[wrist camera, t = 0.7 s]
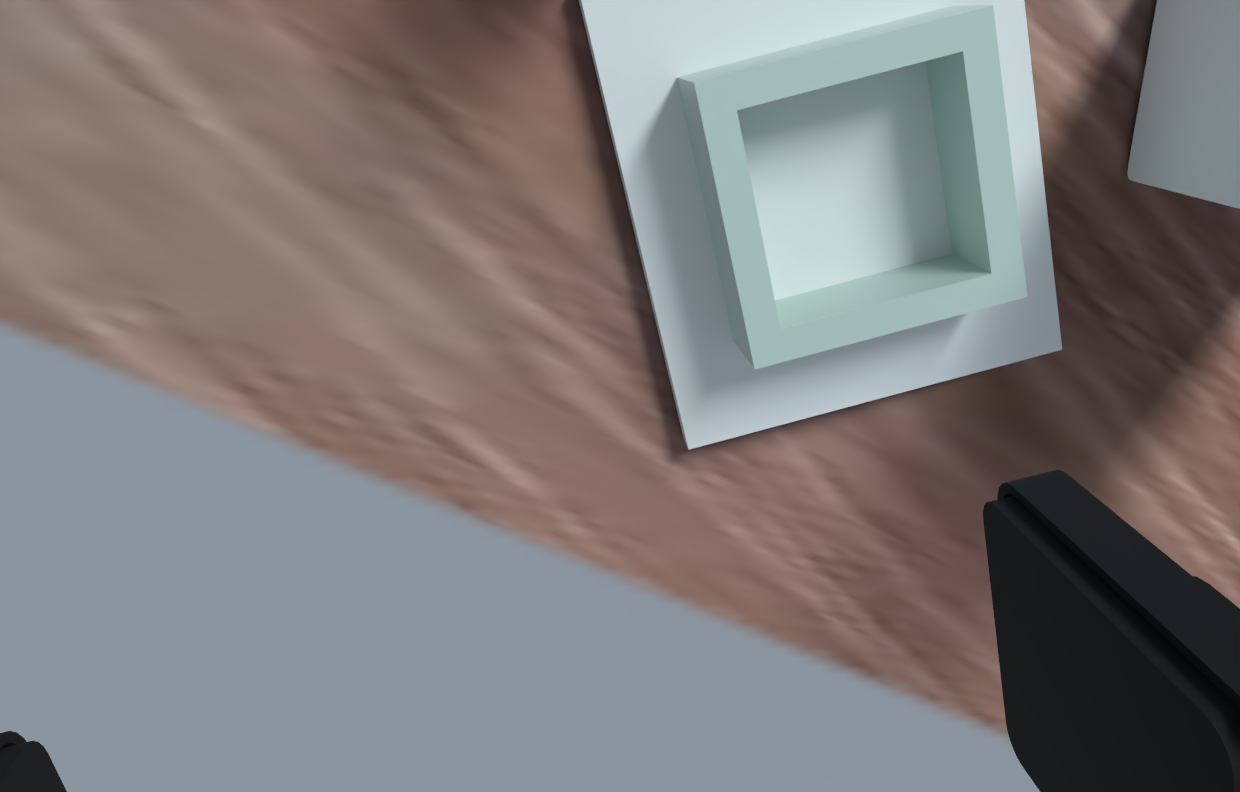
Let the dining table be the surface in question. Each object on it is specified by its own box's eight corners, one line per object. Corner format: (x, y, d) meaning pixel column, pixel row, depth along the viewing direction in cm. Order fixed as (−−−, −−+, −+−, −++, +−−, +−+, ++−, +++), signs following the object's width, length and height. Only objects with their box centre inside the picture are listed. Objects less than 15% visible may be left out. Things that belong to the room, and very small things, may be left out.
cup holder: (574, -17, 33) (585, -21, 29) (995, -125, 33) (1059, -143, 30) (683, 438, 38) (704, 485, 34) (1048, 341, 38) (1108, 376, 35)
